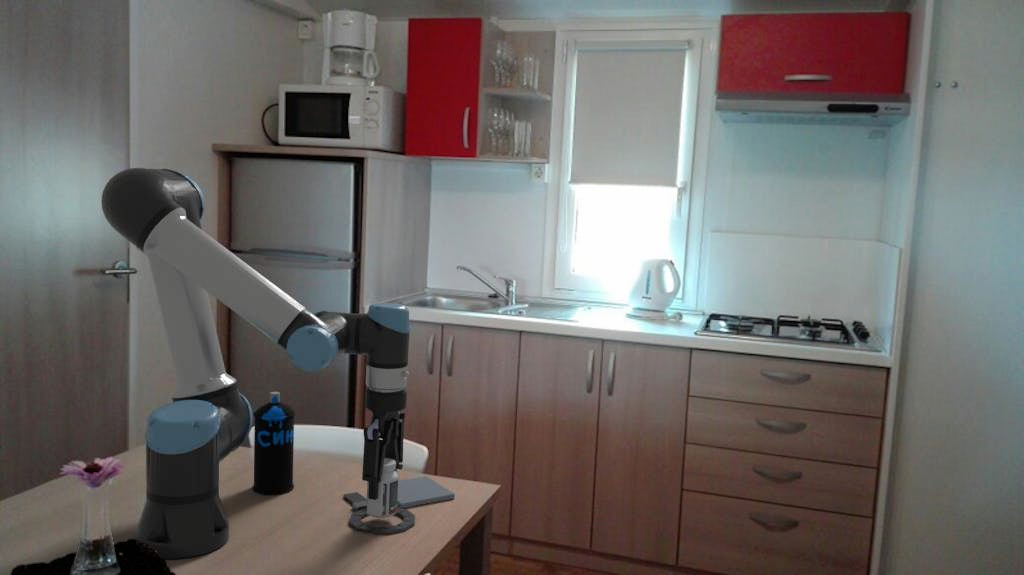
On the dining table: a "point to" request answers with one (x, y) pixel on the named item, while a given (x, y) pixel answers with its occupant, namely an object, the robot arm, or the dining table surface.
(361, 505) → the iron eye
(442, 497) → the slate trivet
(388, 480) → the pill bottle
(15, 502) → the dining table surface
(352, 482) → the dining table surface
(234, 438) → the robot arm
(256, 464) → the aerosol can
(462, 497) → the dining table surface
